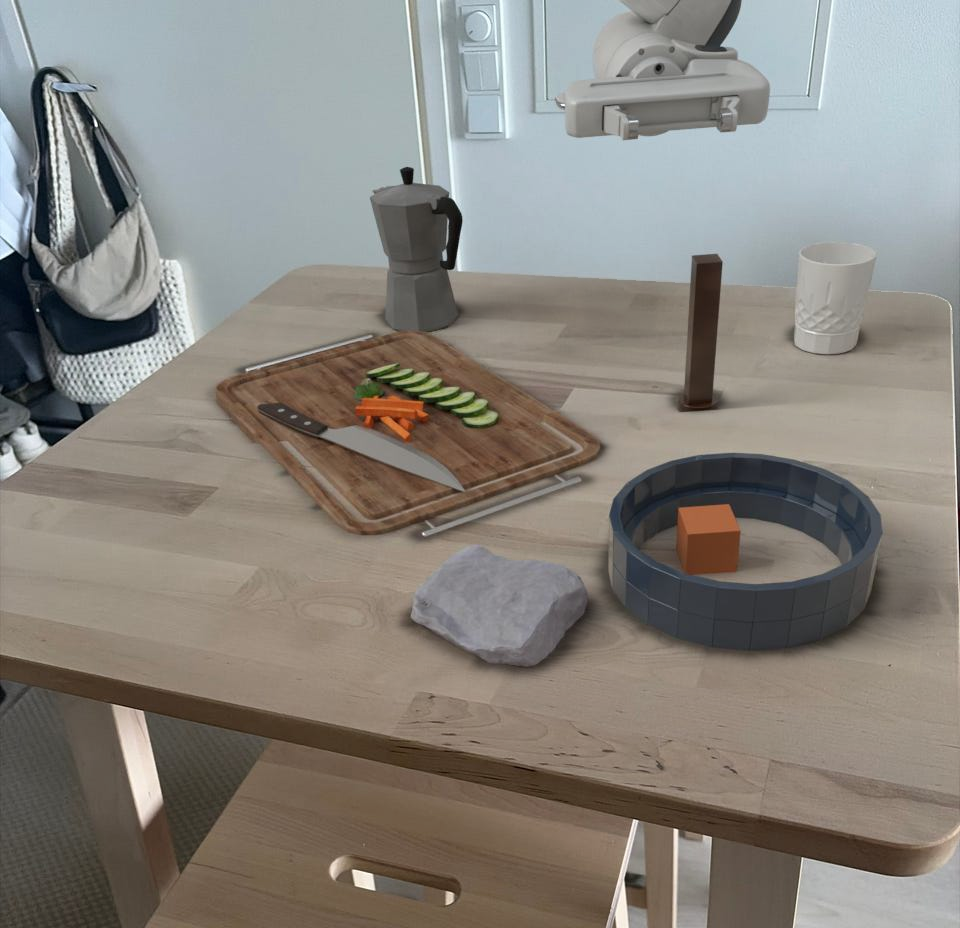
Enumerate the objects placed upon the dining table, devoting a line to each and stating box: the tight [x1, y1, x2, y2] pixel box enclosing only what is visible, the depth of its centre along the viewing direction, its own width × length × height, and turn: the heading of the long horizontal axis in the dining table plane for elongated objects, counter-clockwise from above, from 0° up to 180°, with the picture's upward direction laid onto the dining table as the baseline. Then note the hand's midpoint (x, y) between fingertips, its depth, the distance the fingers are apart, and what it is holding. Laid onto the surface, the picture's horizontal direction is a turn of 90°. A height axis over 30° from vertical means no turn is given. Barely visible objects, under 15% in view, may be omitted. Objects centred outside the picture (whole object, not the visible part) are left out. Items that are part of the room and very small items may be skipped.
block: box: [675, 504, 742, 576], centre depth 80 cm, size 4×4×4 cm
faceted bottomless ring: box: [607, 452, 884, 652], centre depth 78 cm, size 20×20×6 cm
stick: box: [676, 253, 724, 413], centre depth 100 cm, size 4×4×15 cm
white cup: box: [793, 241, 878, 355], centre depth 112 cm, size 8×8×10 cm
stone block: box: [410, 544, 589, 668], centre depth 77 cm, size 12×5×10 cm
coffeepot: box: [369, 166, 464, 333], centre depth 124 cm, size 15×9×18 cm, turn 43°
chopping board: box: [214, 330, 601, 538], centre depth 105 cm, size 45×27×3 cm, turn 30°
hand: (680, 127), depth 97 cm, fingers open, 8 cm apart
